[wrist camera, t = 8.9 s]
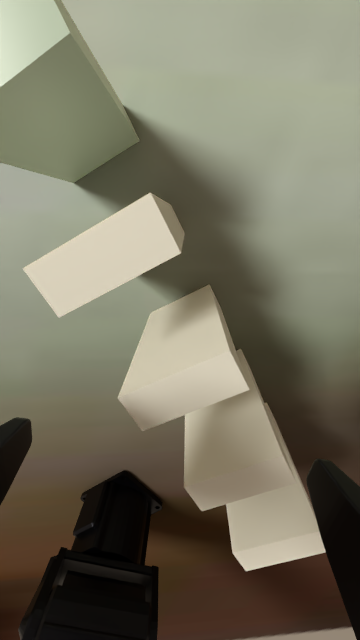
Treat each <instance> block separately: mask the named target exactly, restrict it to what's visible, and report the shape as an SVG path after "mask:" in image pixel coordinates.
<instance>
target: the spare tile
mask: <svg viewBox="0 0 360 640" xmlns="http://www.w3.org/2000/svg"><path fill="white" fill-rule="evenodd" d="M139 141H140V140H139V138H138V136H137V134H136V132H135V129H134V127H133V125H132V123H131V121H130V119H129V117H128V115H127V113H126V111H125V109H124V106H123V104H122V103H121V101H120V99H119V98H118V96H117V94H116V93H115V91H114V89H113V87H112V86H111V84H110V82H109V81H108V79H107V77H106V76H105V74H104V72H103V71H102V69H101V67H100V65H99V64H98V62H97V60H96V59H95V57H94V55H93V54H92V52H91V50H90V49H89V47H88V45H87V43H86V42H85V40H84V38H83V37H82V35H81V33H80V32H79V30H78V28H77V27H76V25H75V23H74V21H73V20H72V18H71V16H70V15H69V13H68V11H67V10H66V8H65V6H64V4H63V3H62V1H61V0H0V162H1V163H5V164H8V165H12V166H15V167H19V168H22V169H26V170H29V171H33V172H36V173H40V174H43V175H47V176H50V177H54V178H58V179H61V180H65V181H68V182H72V183H74V182H76V181H77V180H79V179H81V178H82V177H84V176H85V175H87V174H88V173H90V172H92V171H93V170H95V169H96V168H98V167H99V166H101V165H103V164H104V163H106V162H107V161H109V160H110V159H112V158H114V157H115V156H117V155H118V154H120V153H121V152H123V151H125V150H126V149H128V148H129V147H131V146H132V145H134V144H136V143H137V142H139Z"/></svg>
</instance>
